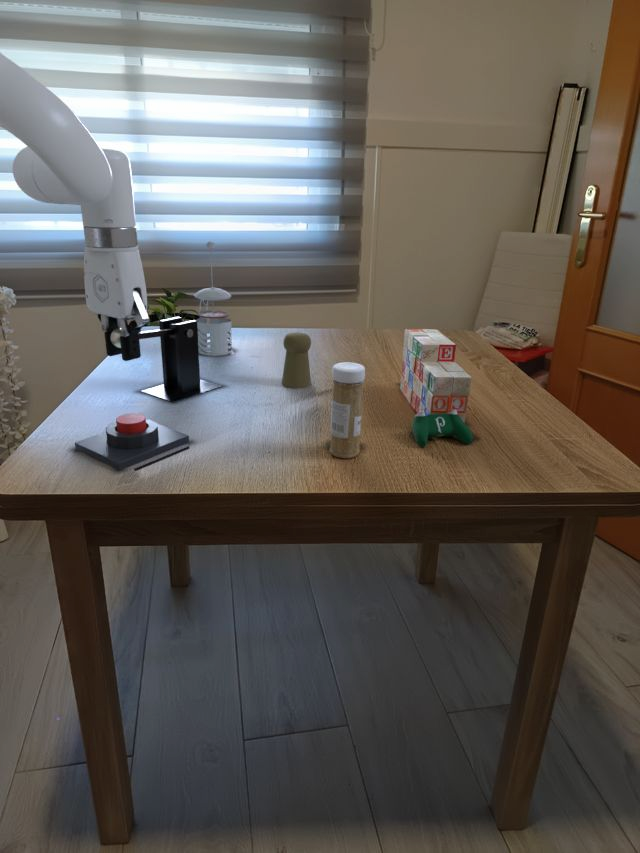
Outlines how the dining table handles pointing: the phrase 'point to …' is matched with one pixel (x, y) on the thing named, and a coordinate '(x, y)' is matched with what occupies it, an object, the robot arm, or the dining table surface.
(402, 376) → the stack of blocks
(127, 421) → the button
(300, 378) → the cork
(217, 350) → the french press
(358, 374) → the sprinkles bottle
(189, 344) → the switch bracket
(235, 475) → the dining table surface
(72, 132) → the robot arm
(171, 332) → the switch lever
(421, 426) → the gaming controller
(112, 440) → the button block
